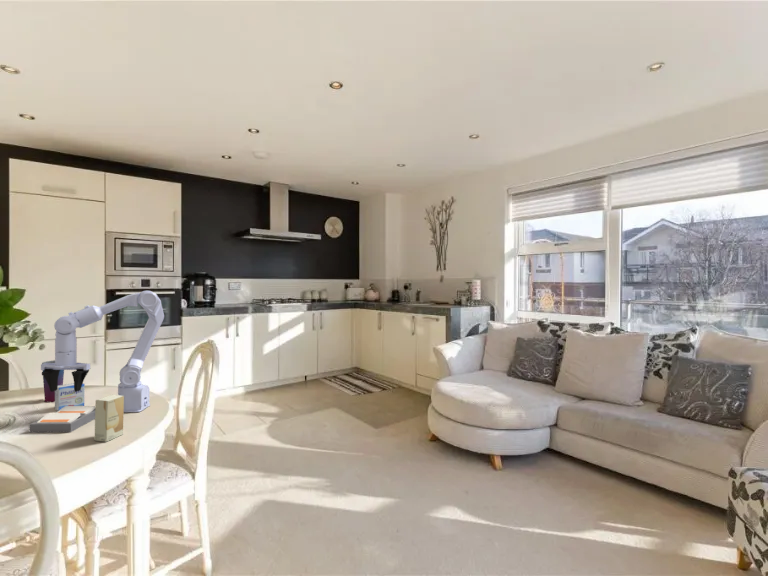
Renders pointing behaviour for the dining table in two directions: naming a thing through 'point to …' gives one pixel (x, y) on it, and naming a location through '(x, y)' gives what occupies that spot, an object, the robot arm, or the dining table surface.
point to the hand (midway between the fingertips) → (65, 390)
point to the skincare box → (109, 417)
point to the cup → (47, 393)
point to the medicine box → (69, 396)
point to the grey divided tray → (62, 424)
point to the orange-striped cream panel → (77, 409)
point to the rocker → (59, 418)
